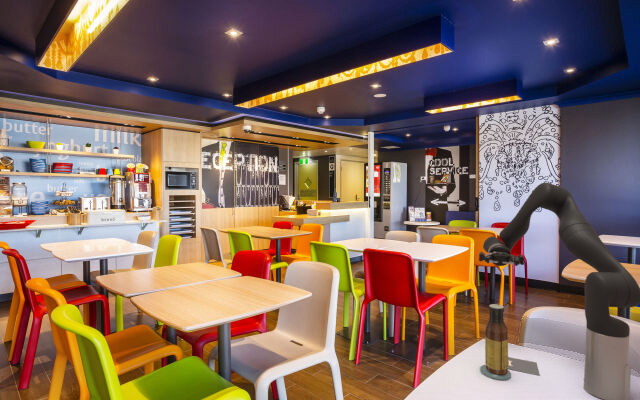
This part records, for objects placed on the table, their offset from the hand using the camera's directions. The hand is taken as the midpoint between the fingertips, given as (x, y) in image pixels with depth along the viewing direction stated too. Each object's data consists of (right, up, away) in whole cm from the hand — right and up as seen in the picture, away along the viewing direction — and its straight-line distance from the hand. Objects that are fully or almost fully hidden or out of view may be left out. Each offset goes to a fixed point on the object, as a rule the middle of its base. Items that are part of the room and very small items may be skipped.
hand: (502, 261), depth 123 cm
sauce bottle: (-9, -31, -13) cm, 35 cm away
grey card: (0, -31, -8) cm, 32 cm away
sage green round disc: (-9, -31, -14) cm, 35 cm away
